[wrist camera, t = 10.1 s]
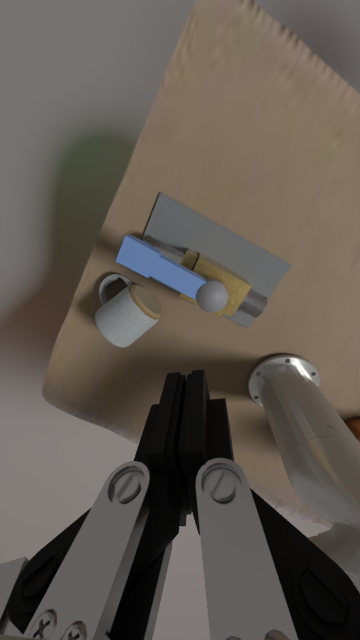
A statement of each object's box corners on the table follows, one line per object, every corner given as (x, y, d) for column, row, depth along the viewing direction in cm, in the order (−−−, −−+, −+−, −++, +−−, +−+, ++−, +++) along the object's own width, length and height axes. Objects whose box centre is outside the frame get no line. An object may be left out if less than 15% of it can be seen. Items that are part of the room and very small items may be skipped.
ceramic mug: (167, 308, 38) (159, 326, 31) (135, 335, 40) (121, 357, 33) (124, 260, 35) (104, 268, 28) (93, 292, 38) (67, 305, 31)
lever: (132, 232, 25) (126, 232, 23) (231, 286, 26) (234, 291, 24) (121, 260, 26) (114, 263, 24) (216, 311, 28) (217, 317, 26)
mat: (290, 264, 33) (291, 264, 33) (246, 327, 38) (246, 327, 37) (160, 192, 31) (160, 192, 31) (130, 268, 36) (130, 268, 35)
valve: (267, 288, 35) (285, 305, 27) (247, 317, 37) (259, 340, 29) (153, 228, 33) (139, 227, 25) (139, 262, 35) (123, 271, 27)
